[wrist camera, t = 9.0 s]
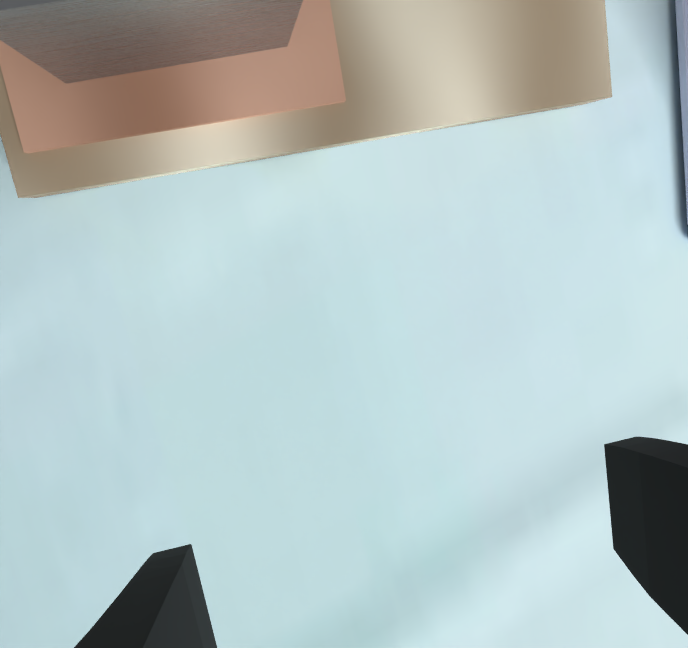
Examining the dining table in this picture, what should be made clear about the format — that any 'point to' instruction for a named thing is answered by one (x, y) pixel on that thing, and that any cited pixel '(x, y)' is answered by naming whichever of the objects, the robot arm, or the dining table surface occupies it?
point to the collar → (140, 32)
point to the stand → (305, 90)
